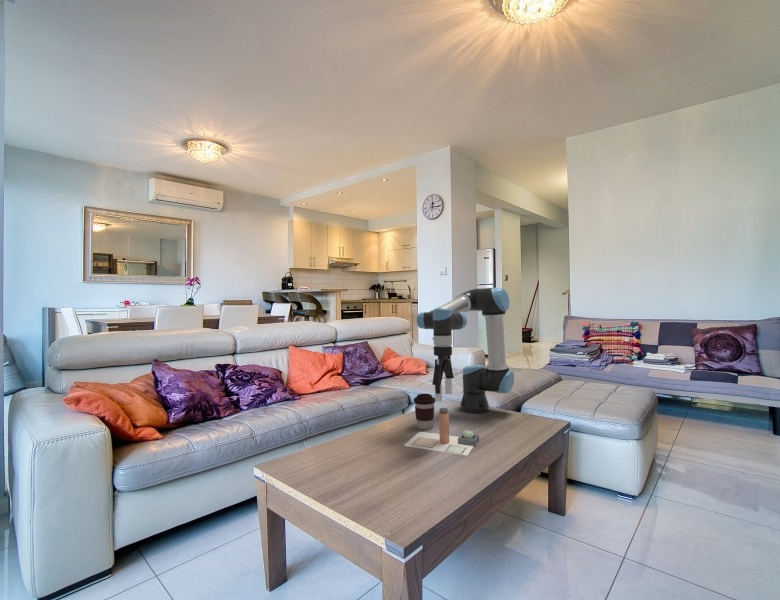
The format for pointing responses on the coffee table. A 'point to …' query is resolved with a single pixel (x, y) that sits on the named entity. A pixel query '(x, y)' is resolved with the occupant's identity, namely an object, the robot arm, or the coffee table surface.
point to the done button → (468, 434)
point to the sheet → (438, 444)
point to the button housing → (468, 440)
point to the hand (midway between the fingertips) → (443, 397)
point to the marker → (444, 426)
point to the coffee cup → (424, 410)
